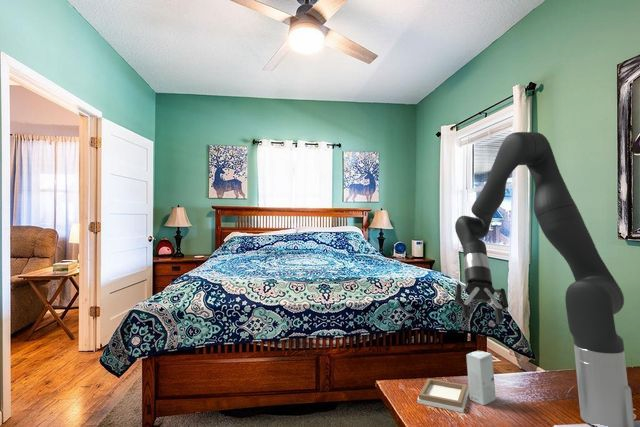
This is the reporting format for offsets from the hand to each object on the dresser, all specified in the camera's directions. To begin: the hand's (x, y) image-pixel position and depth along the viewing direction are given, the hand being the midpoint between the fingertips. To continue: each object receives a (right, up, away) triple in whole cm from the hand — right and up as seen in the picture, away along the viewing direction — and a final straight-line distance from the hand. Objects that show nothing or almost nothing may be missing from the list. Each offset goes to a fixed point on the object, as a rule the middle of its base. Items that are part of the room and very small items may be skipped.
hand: (483, 321), depth 97 cm
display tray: (-13, -20, -4) cm, 24 cm away
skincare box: (-3, -20, -6) cm, 21 cm away
